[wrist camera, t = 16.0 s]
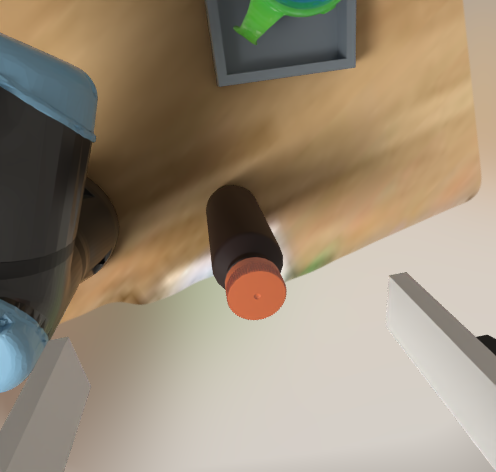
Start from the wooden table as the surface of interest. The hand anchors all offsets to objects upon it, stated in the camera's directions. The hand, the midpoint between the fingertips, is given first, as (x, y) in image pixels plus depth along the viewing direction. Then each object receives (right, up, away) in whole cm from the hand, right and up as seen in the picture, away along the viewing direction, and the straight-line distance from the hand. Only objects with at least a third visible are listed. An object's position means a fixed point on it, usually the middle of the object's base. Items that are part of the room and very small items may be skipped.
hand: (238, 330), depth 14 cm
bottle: (-2, +8, +32) cm, 33 cm away
